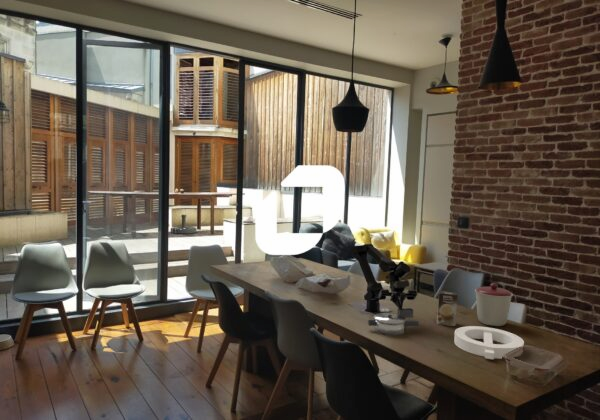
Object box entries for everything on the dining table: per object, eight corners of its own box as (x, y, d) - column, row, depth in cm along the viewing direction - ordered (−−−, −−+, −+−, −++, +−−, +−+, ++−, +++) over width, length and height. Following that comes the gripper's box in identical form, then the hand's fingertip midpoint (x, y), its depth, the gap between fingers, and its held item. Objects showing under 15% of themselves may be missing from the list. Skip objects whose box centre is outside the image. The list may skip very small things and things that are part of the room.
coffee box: (436, 324, 223) (438, 292, 222) (436, 320, 229) (438, 290, 228) (455, 326, 220) (457, 295, 219) (455, 323, 226) (457, 292, 225)
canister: (481, 316, 241) (483, 278, 239) (516, 324, 228) (519, 284, 227) (467, 322, 228) (469, 282, 227) (502, 331, 215) (505, 289, 214)
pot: (364, 325, 216) (364, 315, 216) (411, 325, 219) (412, 315, 219) (372, 335, 203) (372, 324, 202) (422, 335, 206) (423, 324, 205)
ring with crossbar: (489, 363, 176) (490, 351, 175) (440, 339, 201) (441, 329, 201) (538, 354, 187) (539, 343, 186) (486, 333, 212) (487, 323, 212)
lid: (369, 315, 216) (369, 305, 216) (405, 314, 220) (405, 304, 220) (380, 324, 202) (381, 314, 201) (418, 323, 206) (419, 313, 205)
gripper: (381, 273, 220) (387, 301, 210) (417, 274, 222) (424, 302, 212) (376, 285, 228) (381, 312, 218) (410, 285, 230) (417, 312, 220)
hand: (401, 309), depth 217 cm, fingers closed
